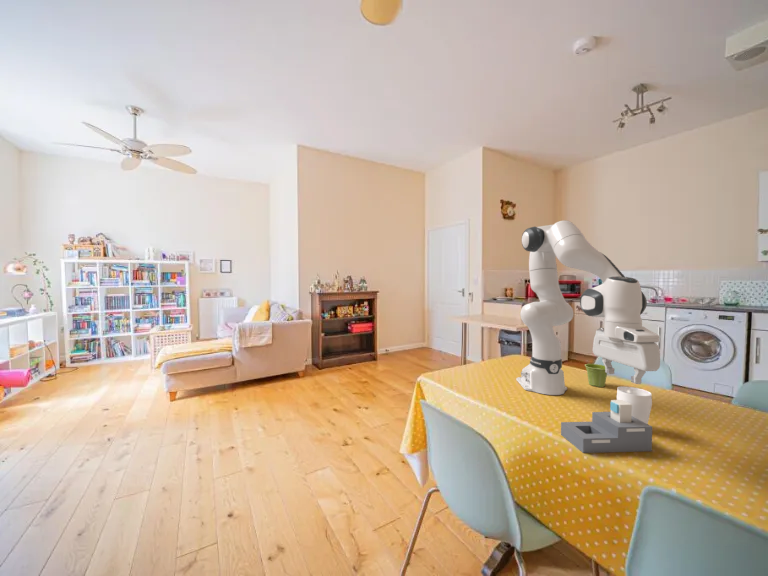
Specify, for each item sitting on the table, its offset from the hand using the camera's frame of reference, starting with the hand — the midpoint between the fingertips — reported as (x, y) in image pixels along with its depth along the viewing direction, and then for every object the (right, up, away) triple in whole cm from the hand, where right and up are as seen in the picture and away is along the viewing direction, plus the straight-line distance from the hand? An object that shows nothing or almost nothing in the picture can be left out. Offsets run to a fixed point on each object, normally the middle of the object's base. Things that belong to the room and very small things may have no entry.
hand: (622, 378), depth 91 cm
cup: (+11, -19, +10) cm, 25 cm away
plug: (0, -16, +1) cm, 16 cm away
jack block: (-5, -19, 0) cm, 20 cm away
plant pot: (+28, -18, +51) cm, 61 cm away
